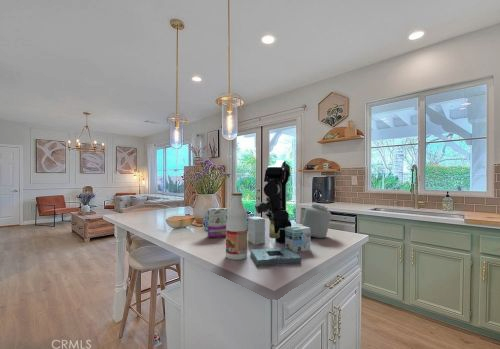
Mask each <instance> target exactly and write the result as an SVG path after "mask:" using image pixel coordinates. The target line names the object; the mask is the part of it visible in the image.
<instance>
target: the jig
mask: <svg viewBox="0 0 500 349" xmlns="http://www.w3.org/2000/svg"><path fill="white" fill-rule="evenodd" d="M250 256H251V258H252V260H253V262H254V263H255V265H256V266H257V267H258V268H259V267H271V266H272V267H273V266H287V265H288V266H289V265H300V264H302V257H301V256H300V255H299V254H298V253H297V252H294V251H293V250H291V249H290V248H289V247H285V246H284V247H272V248H271V247H270V248H253V249H252V248H251V249H250Z"/></svg>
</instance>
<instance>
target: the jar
mask: <svg viewBox="0 0 500 349" xmlns="http://www.w3.org/2000/svg"><path fill="white" fill-rule="evenodd" d="M319 195H320V196H322V194H319ZM323 200H324V199H323ZM327 201H328V200H326V202H327ZM331 218H332V213H331V212H330V211H329V210H328V207H327V206H325V205H321V204H316V203H311V206H309V205H308V206H307V207H306V208H305V210H304V215H303V219H302V223H301V225H303V226H306V227H309V228H310V237H312V238H315V239H316V238H317V239H323V238H325V237H327V234H328V231H329V226H330V222H331Z"/></svg>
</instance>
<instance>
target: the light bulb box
mask: <svg viewBox="0 0 500 349" xmlns="http://www.w3.org/2000/svg"><path fill="white" fill-rule="evenodd" d="M284 245H285V246H284V248H285V247H289V248H290V249H291V250H293V251H294V252H295V253H301V252H307V251H310V250H311V236H310V228H309V227H306V226H303V225H302V224H301V225H294V226H293V225H292V227H285V243H284Z"/></svg>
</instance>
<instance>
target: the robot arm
mask: <svg viewBox="0 0 500 349" xmlns="http://www.w3.org/2000/svg"><path fill="white" fill-rule="evenodd" d="M274 162H275V163H274V164H272V165H267V168H265V171H264V179H263V182H265V185H264V187H263V194H264V195H265V196H266V199H265V201H262V202H259V203H256V204H254V208H255V211H256V213H257V214H262V213H264V215H265V216H266V217H267V218H268V220H273V224H274V231H275V233H278V231H279V229H280V238H274V239H275V240H274V241H275V242H277V244H285V227H292V226H293V225H292V222H291V220H290V215H289V212H288V211H287V185H288V184H287V183H288V182H289V180H290V177H291V166H290V165H288V163H287V161H286V160H283V159H282V160H275V161H274Z"/></svg>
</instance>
